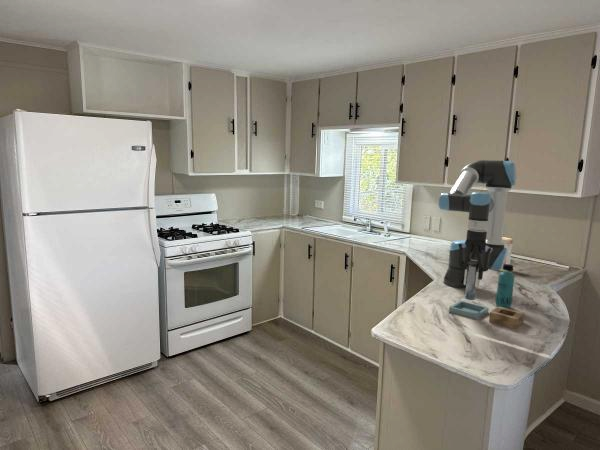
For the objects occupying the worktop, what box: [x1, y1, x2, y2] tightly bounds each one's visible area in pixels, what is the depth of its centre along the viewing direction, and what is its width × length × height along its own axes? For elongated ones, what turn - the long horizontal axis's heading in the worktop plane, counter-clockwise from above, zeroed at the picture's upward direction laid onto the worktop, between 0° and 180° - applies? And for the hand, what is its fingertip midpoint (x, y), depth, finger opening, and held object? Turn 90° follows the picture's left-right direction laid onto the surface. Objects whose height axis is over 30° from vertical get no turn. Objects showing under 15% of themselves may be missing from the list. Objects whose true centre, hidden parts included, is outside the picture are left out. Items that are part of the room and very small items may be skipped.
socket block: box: [488, 306, 525, 330], centre depth 170 cm, size 10×10×5 cm
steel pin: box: [464, 259, 479, 301], centre depth 178 cm, size 5×5×16 cm
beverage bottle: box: [495, 264, 516, 309], centre depth 187 cm, size 6×7×20 cm
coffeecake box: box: [498, 236, 514, 272], centre depth 258 cm, size 15×7×20 cm, turn 42°
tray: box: [448, 300, 490, 320], centre depth 180 cm, size 12×12×3 cm
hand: (471, 285), depth 178 cm, fingers closed on steel pin, 4 cm apart
